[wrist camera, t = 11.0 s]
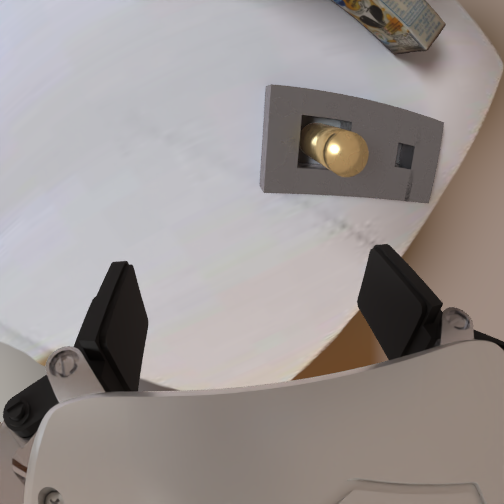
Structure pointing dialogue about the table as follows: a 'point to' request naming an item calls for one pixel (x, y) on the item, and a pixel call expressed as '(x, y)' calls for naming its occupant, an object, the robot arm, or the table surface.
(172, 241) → the table surface
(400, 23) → the beverage carton
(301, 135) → the cylinder
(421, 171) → the block
